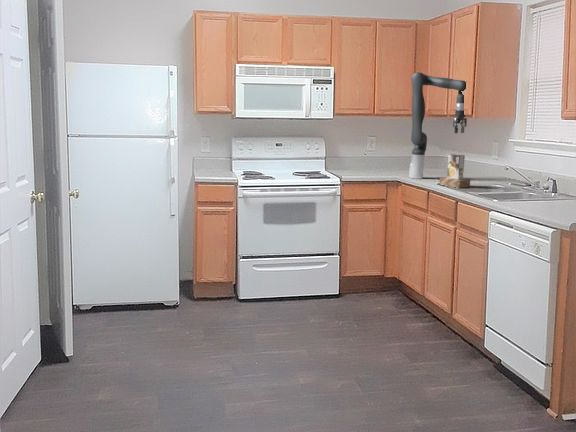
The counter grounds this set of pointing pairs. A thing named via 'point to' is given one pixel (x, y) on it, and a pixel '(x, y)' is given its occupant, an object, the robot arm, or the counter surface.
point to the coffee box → (455, 166)
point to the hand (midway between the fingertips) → (459, 133)
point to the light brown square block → (455, 182)
